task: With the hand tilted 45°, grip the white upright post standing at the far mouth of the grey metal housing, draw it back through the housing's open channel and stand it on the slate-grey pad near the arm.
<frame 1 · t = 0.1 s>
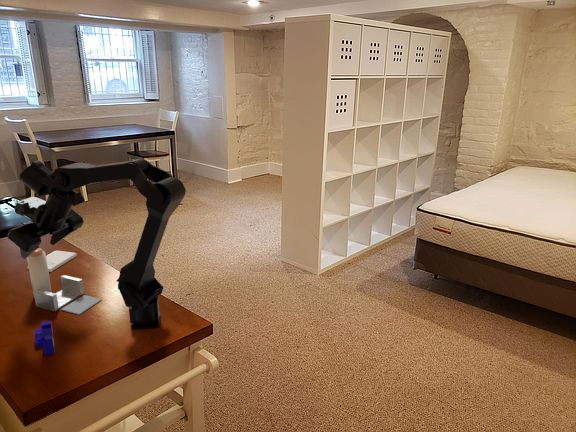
hand: (38, 250, 111), 15 cm above the table, tool tilted 35°, fingers open, 9 cm apart
white upright post: (43, 295, 119), on the table
external hard drive: (53, 264, 139), on the table
cable holder: (45, 346, 98), on the table
housing: (60, 299, 117), on the table
pad: (81, 305, 115), on the table
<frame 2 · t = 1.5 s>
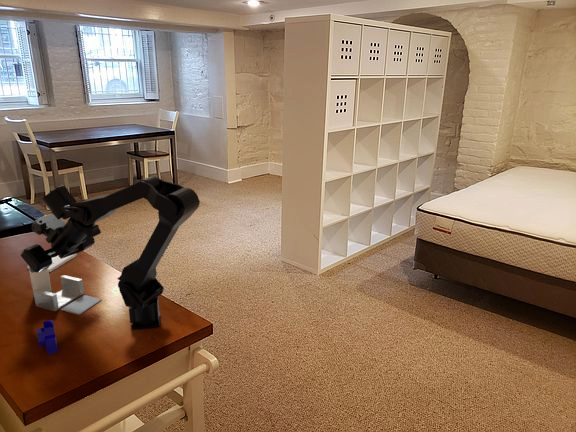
hand: (46, 263, 114), 10 cm above the table, tool tilted 45°, fingers open, 9 cm apart
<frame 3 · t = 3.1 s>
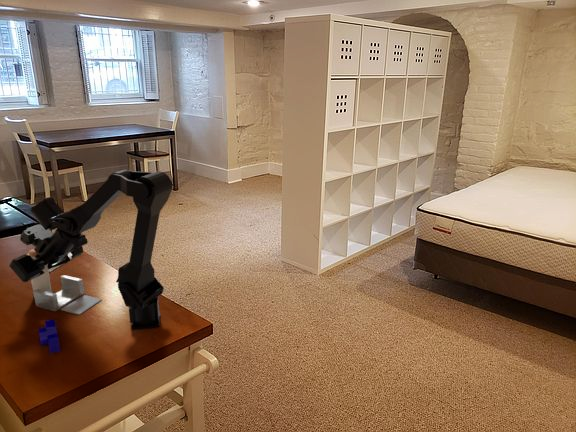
hand: (35, 273, 117), 7 cm above the table, tool tilted 45°, fingers closed on white upright post, 4 cm apart
white upright post: (43, 295, 119), on the table, touching gripper
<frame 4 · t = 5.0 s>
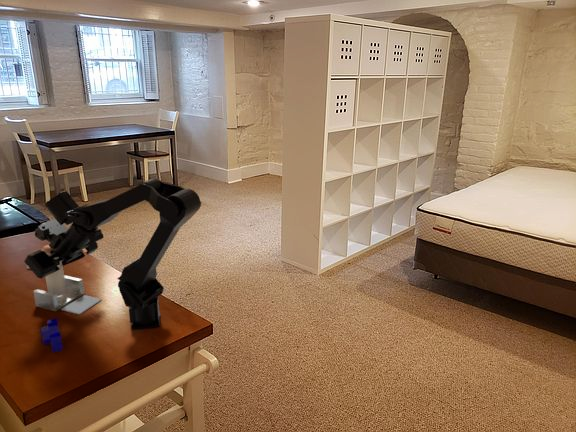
hand: (49, 269, 115), 9 cm above the table, tool tilted 45°, fingers closed on white upright post, 4 cm apart
white upright post: (57, 292, 116), point 2 cm above the table, touching gripper
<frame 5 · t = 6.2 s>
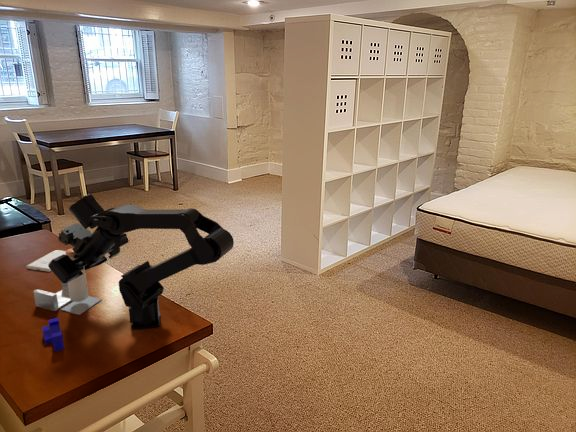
hand: (71, 274, 112), 9 cm above the table, tool tilted 45°, fingers closed on white upright post, 4 cm apart
white upright post: (79, 297, 114), point 2 cm above the table, touching gripper
when the fingers open (7 cm above the table, at t = 7.2 s): white upright post stays where it is, resting on pad.
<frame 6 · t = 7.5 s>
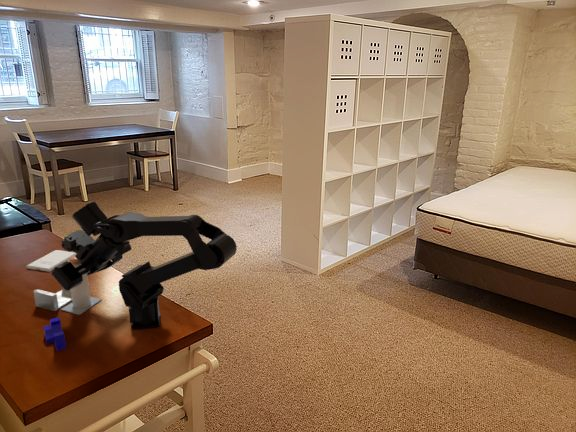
hand: (74, 280, 113), 7 cm above the table, tool tilted 45°, fingers open, 7 cm apart
white upright post: (82, 304, 115), resting on pad
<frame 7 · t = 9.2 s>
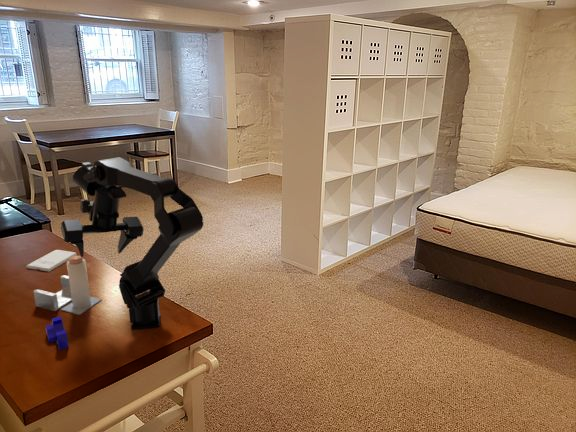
hand: (100, 254, 113), 14 cm above the table, tool tilted 20°, fingers open, 9 cm apart
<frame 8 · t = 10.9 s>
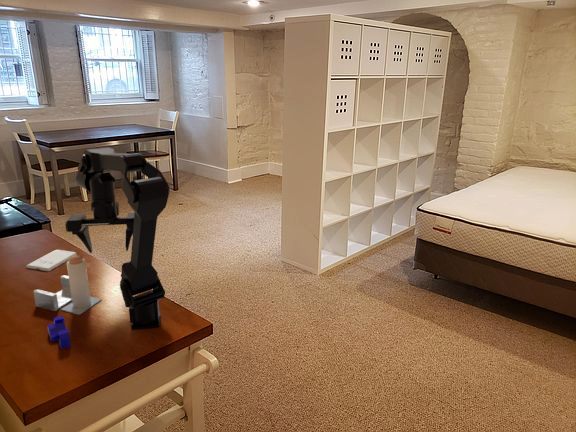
hand: (109, 251, 117), 13 cm above the table, tool pointing down, fingers open, 9 cm apart
at the end: white upright post 0.1 cm from the pad (horizontally); white upright post tilted 0°; white upright post resting on pad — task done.
